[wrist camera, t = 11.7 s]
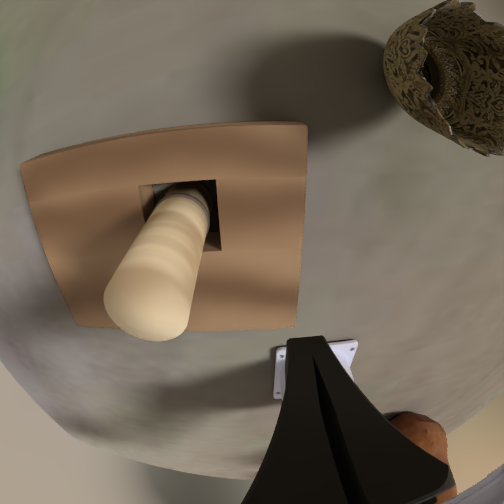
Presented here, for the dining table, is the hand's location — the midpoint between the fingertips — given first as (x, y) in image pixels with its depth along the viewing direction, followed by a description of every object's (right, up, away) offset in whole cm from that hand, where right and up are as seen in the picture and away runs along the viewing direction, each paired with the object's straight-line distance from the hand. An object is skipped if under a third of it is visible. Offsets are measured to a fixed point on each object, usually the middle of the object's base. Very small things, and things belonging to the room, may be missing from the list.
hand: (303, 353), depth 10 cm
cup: (+8, +15, +3) cm, 18 cm away
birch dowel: (-6, +7, +8) cm, 12 cm away
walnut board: (-8, +5, +9) cm, 13 cm away
